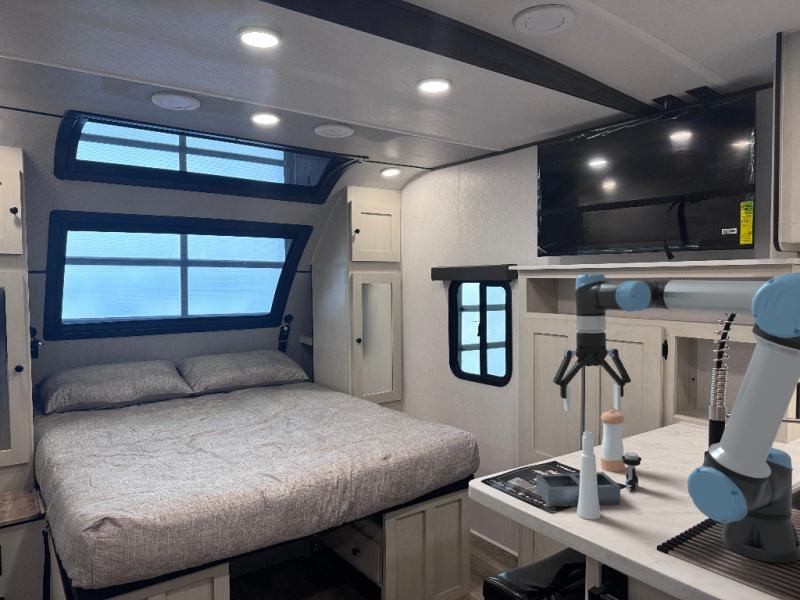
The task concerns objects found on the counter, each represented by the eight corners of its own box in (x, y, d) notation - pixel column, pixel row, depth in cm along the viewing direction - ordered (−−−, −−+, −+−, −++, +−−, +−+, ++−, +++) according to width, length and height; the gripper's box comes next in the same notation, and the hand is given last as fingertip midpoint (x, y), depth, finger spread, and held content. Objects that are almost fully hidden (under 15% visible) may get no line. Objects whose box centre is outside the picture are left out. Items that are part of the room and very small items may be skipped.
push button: (637, 494, 155) (637, 459, 155) (618, 490, 159) (617, 456, 158) (643, 486, 161) (643, 453, 160) (625, 483, 164) (624, 450, 164)
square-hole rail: (603, 488, 160) (603, 472, 160) (620, 504, 149) (620, 486, 149) (536, 491, 159) (536, 474, 159) (548, 507, 148) (548, 489, 148)
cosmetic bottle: (596, 509, 146) (595, 428, 145) (604, 519, 140) (603, 435, 139) (573, 510, 146) (572, 429, 145) (580, 520, 140) (579, 436, 139)
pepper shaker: (621, 473, 172) (620, 413, 171) (597, 469, 176) (597, 410, 175) (627, 467, 177) (626, 409, 177) (604, 462, 182) (604, 406, 181)
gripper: (631, 328, 150) (632, 405, 151) (541, 331, 150) (542, 407, 150) (643, 331, 142) (644, 411, 143) (548, 334, 142) (550, 414, 143)
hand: (592, 409), depth 147 cm, fingers open, 13 cm apart
